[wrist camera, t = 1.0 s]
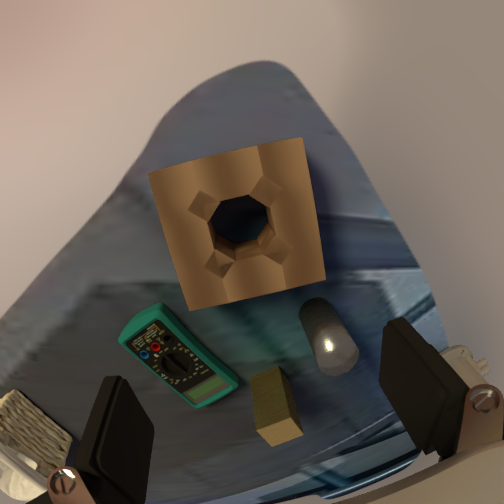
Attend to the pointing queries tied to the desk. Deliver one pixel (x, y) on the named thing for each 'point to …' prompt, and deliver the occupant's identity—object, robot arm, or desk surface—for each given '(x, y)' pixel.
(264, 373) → the square bit
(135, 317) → the digital multimeter
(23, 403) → the storage basket
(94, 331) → the desk surface
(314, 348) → the cylinder
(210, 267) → the bore block
